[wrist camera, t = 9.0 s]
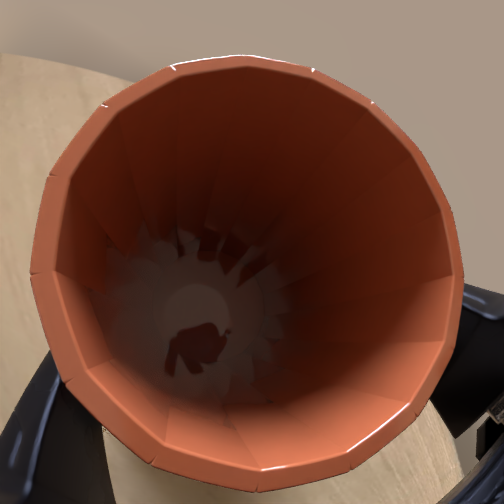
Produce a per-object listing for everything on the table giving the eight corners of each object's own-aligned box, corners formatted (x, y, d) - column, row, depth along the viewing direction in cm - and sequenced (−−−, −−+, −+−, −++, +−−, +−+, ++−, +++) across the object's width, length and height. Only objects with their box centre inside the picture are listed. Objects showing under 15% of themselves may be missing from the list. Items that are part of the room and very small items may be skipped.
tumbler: (269, 364, 16) (465, 418, 4) (148, 366, 14) (48, 481, 2) (265, 249, 18) (415, 103, 5) (149, 245, 16) (97, 50, 4)
